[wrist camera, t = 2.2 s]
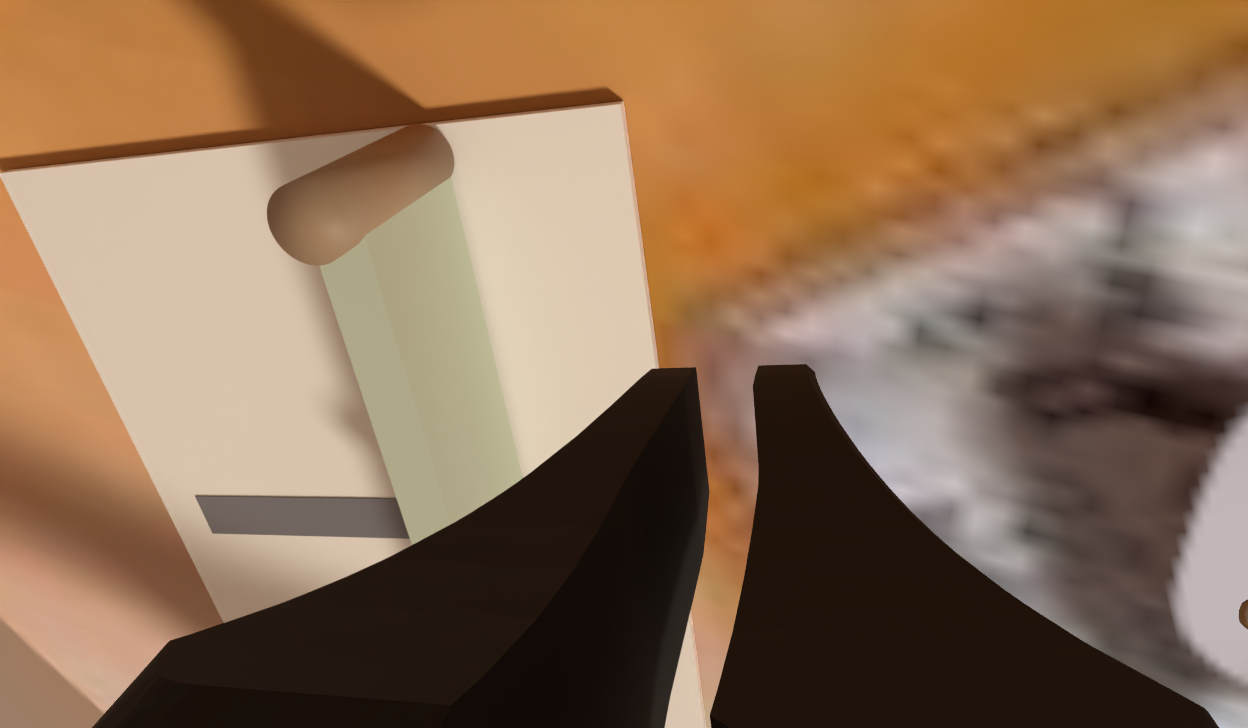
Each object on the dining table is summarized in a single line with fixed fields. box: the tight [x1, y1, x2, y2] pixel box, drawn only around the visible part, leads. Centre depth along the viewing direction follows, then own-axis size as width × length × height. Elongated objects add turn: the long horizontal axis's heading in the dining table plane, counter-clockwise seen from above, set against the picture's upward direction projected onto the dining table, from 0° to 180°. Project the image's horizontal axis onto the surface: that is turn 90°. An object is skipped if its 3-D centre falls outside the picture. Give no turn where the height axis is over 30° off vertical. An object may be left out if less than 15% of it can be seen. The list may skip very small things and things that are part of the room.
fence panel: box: [267, 124, 523, 545], centre depth 19 cm, size 11×2×5 cm, turn 8°
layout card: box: [0, 101, 707, 728], centre depth 25 cm, size 22×18×1 cm
